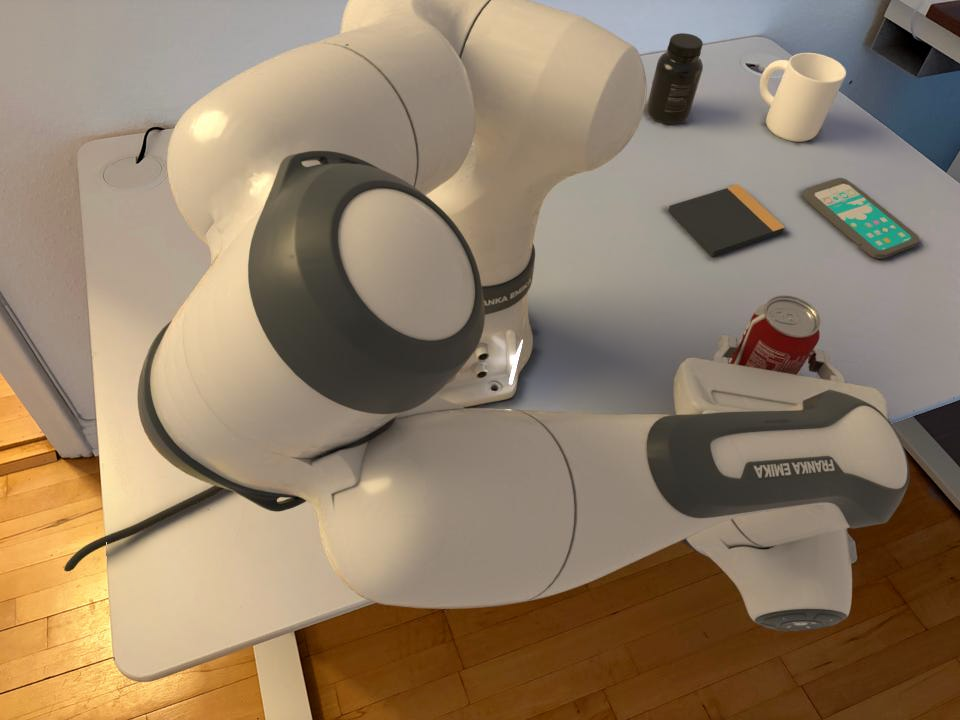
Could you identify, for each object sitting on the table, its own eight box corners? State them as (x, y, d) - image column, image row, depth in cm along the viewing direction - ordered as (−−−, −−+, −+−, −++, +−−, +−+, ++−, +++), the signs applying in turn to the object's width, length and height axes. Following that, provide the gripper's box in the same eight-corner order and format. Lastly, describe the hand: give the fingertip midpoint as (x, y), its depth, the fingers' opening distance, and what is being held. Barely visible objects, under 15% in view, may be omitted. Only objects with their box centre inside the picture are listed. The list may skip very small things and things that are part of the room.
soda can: (783, 416, 79) (830, 346, 69) (721, 404, 79) (759, 333, 70) (779, 368, 83) (823, 297, 74) (720, 357, 84) (757, 285, 74)
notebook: (711, 257, 94) (714, 251, 93) (667, 211, 100) (669, 204, 99) (781, 233, 98) (785, 227, 97) (735, 190, 103) (738, 184, 103)
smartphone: (845, 174, 105) (924, 238, 97) (842, 180, 106) (921, 244, 98) (800, 189, 102) (878, 256, 94) (798, 195, 103) (875, 261, 95)
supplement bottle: (694, 111, 116) (717, 38, 106) (678, 131, 112) (700, 57, 103) (655, 96, 118) (674, 24, 108) (638, 116, 114) (656, 42, 105)
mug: (735, 112, 116) (757, 51, 108) (766, 97, 119) (790, 36, 111) (796, 149, 110) (824, 88, 102) (827, 132, 114) (857, 71, 106)
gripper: (914, 459, 64) (887, 344, 73) (685, 420, 66) (685, 311, 74) (880, 493, 69) (858, 381, 78) (668, 455, 71) (669, 349, 79)
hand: (772, 346), depth 76 cm, fingers open, 8 cm apart
